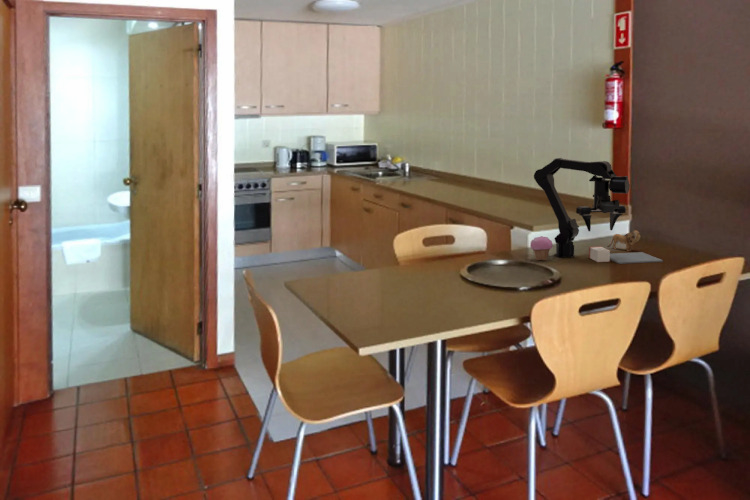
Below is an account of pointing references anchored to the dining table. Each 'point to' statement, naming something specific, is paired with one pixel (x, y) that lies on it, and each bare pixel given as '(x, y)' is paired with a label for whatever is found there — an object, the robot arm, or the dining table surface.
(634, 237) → the lion figurine
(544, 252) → the cupcake
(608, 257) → the beige rectangular block
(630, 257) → the mat
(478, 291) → the dining table surface
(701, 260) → the dining table surface
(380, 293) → the dining table surface
